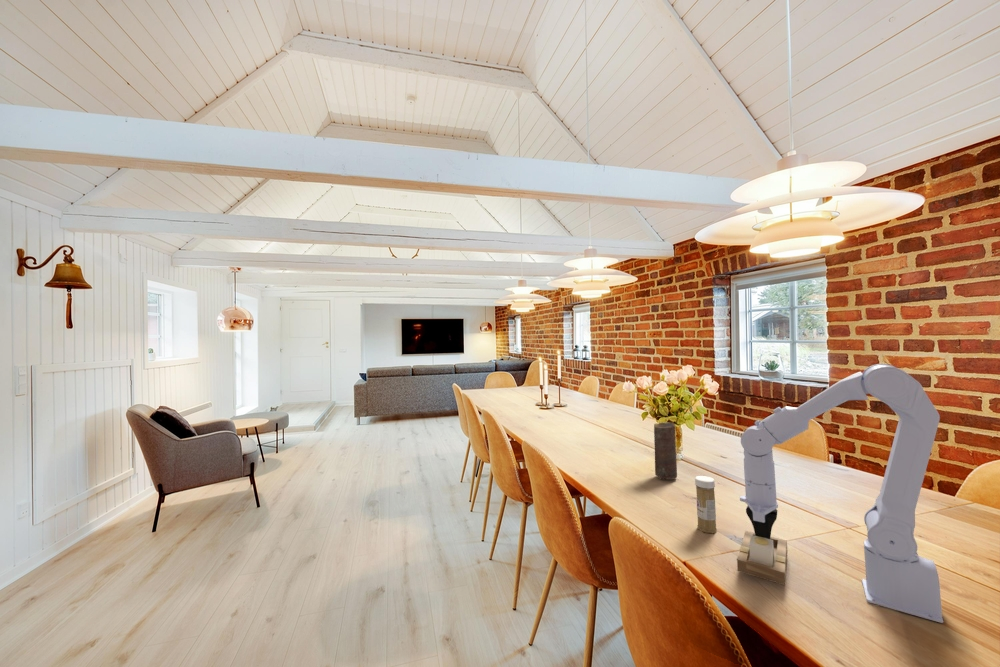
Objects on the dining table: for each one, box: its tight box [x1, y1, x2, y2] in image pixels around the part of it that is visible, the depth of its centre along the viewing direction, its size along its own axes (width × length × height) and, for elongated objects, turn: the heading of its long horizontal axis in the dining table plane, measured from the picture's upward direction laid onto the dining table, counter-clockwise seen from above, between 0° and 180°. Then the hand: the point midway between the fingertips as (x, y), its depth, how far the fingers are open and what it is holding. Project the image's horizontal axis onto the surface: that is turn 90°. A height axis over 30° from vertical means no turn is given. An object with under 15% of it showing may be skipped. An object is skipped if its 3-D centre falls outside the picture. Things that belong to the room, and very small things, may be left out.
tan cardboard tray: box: [736, 530, 788, 585], centre depth 83 cm, size 15×8×4 cm, turn 141°
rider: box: [749, 535, 774, 567], centre depth 81 cm, size 5×4×4 cm
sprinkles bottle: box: [694, 475, 718, 534], centre depth 99 cm, size 5×5×14 cm
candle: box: [653, 421, 678, 480], centre depth 137 cm, size 8×7×20 cm
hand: (763, 542), depth 84 cm, fingers closed
